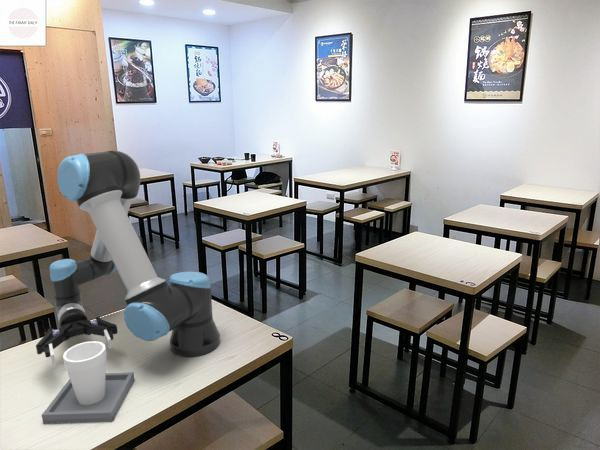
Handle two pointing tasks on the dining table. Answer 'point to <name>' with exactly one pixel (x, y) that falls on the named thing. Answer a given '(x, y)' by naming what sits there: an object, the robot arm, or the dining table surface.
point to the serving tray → (105, 410)
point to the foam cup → (87, 371)
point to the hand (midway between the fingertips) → (82, 351)
